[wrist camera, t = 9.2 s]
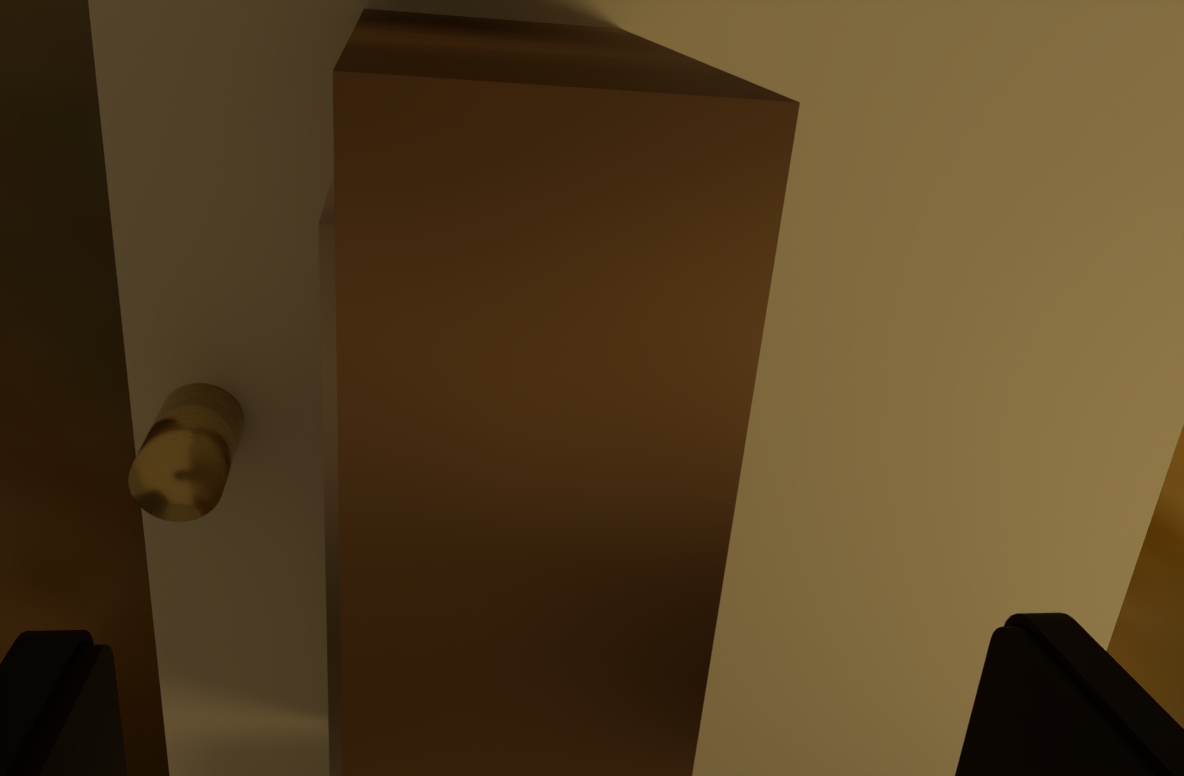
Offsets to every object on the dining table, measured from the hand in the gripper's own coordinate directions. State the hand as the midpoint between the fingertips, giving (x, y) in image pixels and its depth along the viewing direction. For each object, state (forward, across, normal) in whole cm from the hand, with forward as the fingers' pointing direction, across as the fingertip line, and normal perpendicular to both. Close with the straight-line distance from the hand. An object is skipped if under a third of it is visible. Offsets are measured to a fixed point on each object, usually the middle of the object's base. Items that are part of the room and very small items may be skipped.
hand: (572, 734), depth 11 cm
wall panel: (+8, -3, -1) cm, 8 cm away
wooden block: (+6, +1, -1) cm, 6 cm away
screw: (+6, +5, -1) cm, 8 cm away
